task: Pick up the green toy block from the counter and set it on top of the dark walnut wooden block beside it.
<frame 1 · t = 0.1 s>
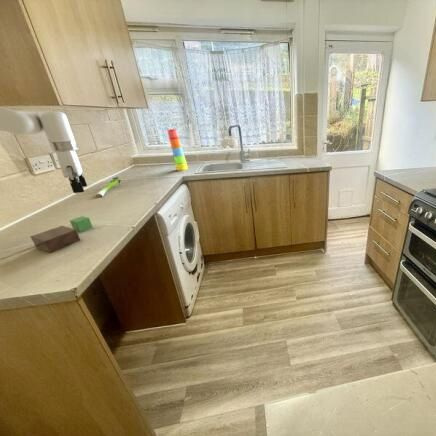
hand: (81, 189, 100), 19 cm above the countertop, tool pointing down, fingers open, 9 cm apart
leek: (110, 190, 164), on the countertop
walnut block: (58, 244, 96), on the countertop
toy block: (83, 229, 109), on the countertop
stacking cups: (182, 170, 216), on the countertop
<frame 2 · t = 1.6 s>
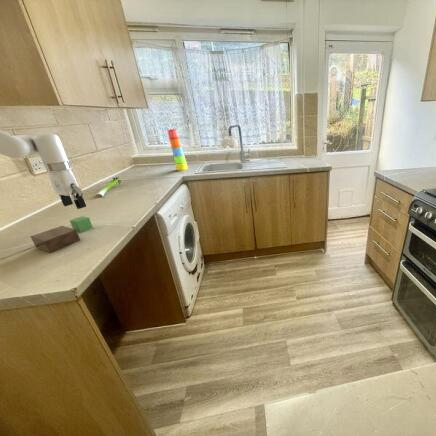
hand: (75, 206, 104), 11 cm above the countertop, tool pointing down, fingers open, 9 cm apart
nothing on the countertop moved.
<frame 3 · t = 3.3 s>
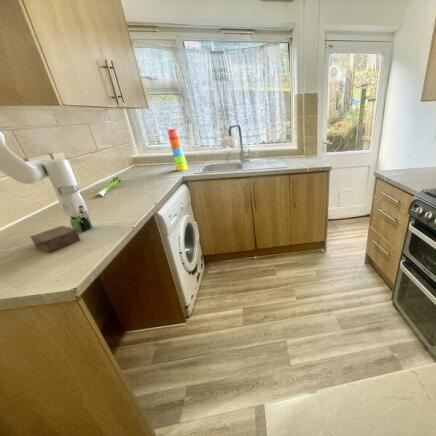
hand: (83, 228, 108), 0 cm above the countertop, tool pointing down, fingers closed on toy block, 5 cm apart
toy block: (83, 229, 109), on the countertop, touching gripper
everything else where it was.
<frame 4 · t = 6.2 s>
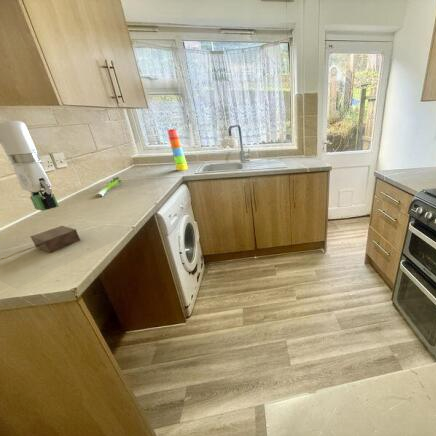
hand: (46, 206, 92), 15 cm above the countertop, tool pointing down, fingers closed on toy block, 5 cm apart
toy block: (47, 207, 92), point 15 cm above the countertop, touching gripper
everything else where it was.
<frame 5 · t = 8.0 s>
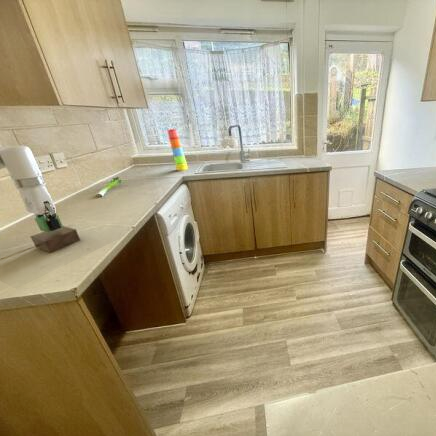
hand: (51, 227, 93), 7 cm above the countertop, tool pointing down, fingers closed on toy block, 5 cm apart
toy block: (52, 228, 94), point 7 cm above the countertop, touching gripper
everything else where it was.
when the fingers open (5 cm above the countertop, at t = 9.0 s): toy block stays where it is, resting on walnut block.
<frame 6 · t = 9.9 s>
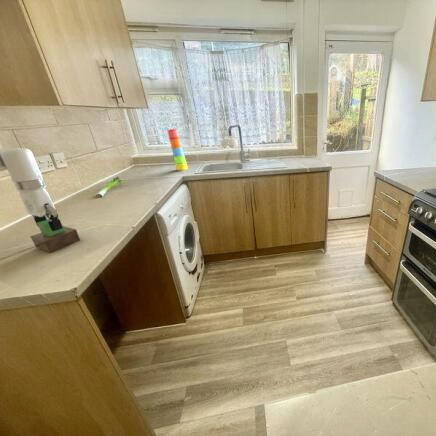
hand: (50, 227, 93), 7 cm above the countertop, tool pointing down, fingers open, 9 cm apart
toy block: (53, 232, 94), point 5 cm above the countertop, touching walnut block
everything else where it was.
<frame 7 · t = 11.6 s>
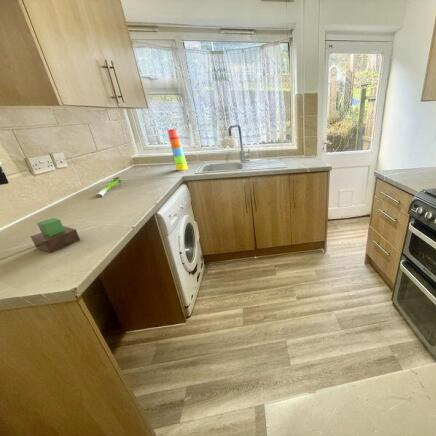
nothing on the countertop moved.
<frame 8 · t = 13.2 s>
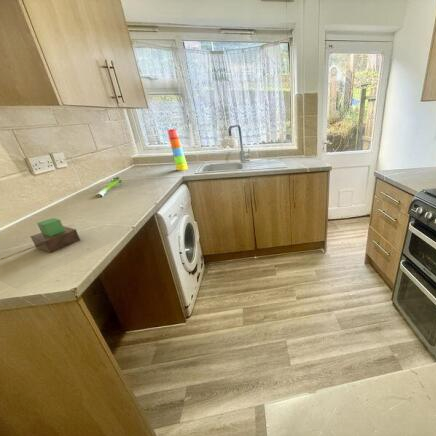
nothing on the countertop moved.
at the end: toy block inside the target area on the walnut block (0.1 cm from its centre), point 5.0 cm above the walnut block's base; toy block tilted 0°; the gripper is holding nothing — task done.
